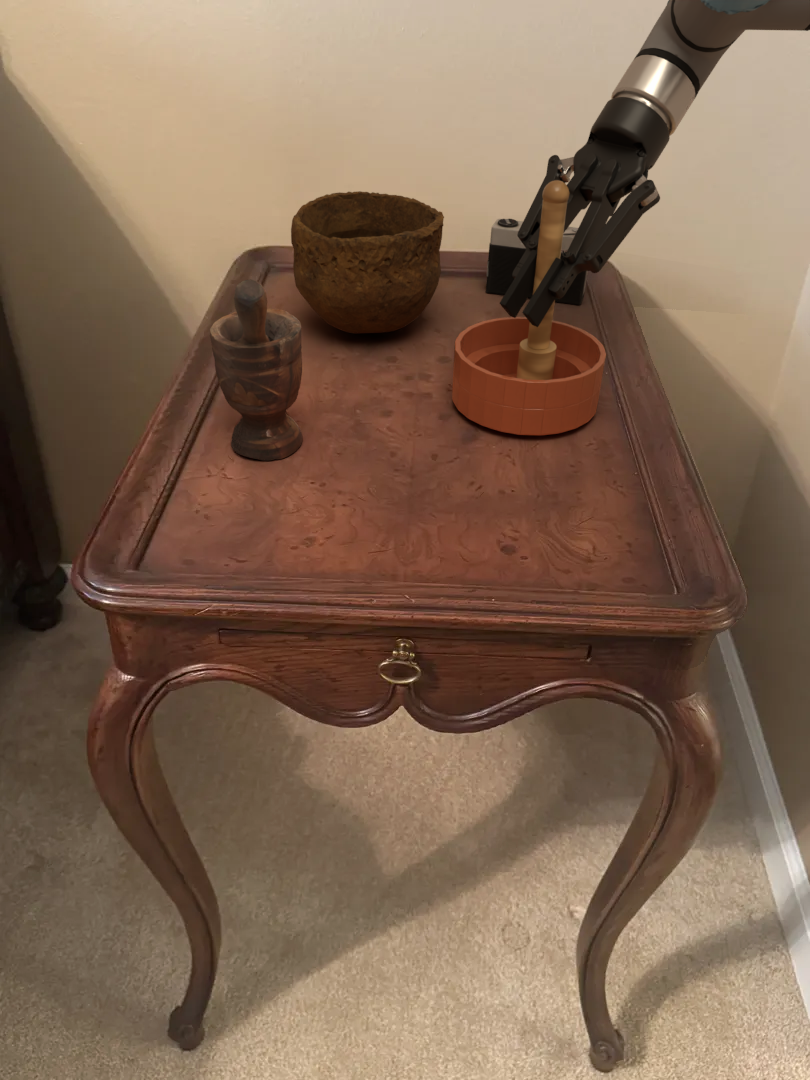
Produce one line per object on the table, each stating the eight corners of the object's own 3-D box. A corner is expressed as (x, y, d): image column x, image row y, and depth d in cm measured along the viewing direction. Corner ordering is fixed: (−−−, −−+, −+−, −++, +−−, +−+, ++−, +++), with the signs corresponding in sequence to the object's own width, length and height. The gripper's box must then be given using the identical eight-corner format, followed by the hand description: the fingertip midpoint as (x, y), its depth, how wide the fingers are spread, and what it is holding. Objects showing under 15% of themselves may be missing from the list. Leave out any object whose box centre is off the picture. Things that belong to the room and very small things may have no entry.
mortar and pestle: (332, 468, 89) (325, 274, 76) (251, 490, 85) (229, 290, 73) (289, 417, 97) (276, 233, 85) (213, 434, 93) (188, 246, 81)
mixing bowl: (603, 383, 104) (613, 327, 100) (586, 452, 92) (596, 392, 88) (469, 363, 108) (473, 309, 104) (435, 427, 95) (438, 368, 91)
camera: (594, 286, 128) (604, 217, 121) (577, 312, 121) (586, 240, 115) (504, 271, 132) (508, 203, 126) (482, 294, 126) (486, 224, 120)
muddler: (554, 373, 100) (580, 177, 87) (549, 388, 97) (575, 188, 84) (520, 368, 101) (540, 173, 88) (513, 383, 98) (533, 184, 85)
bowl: (453, 355, 109) (460, 234, 100) (301, 364, 107) (294, 240, 98) (427, 297, 124) (431, 186, 115) (292, 303, 122) (285, 190, 113)
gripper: (714, 156, 90) (590, 356, 90) (591, 128, 98) (479, 310, 99) (697, 106, 83) (564, 321, 84) (567, 81, 92) (448, 275, 93)
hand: (518, 314), depth 92 cm, fingers closed on muddler, 2 cm apart
